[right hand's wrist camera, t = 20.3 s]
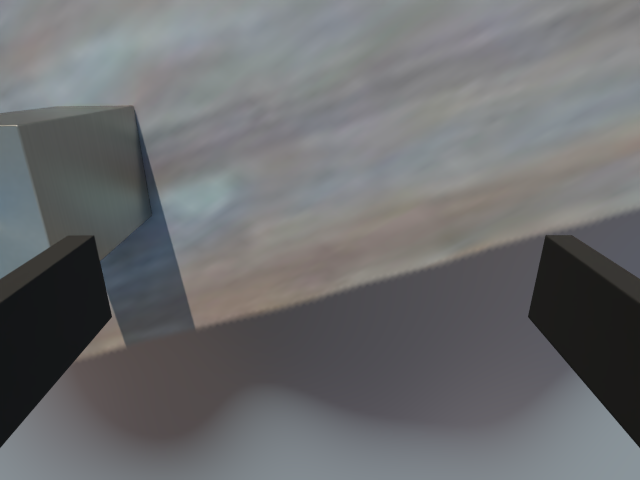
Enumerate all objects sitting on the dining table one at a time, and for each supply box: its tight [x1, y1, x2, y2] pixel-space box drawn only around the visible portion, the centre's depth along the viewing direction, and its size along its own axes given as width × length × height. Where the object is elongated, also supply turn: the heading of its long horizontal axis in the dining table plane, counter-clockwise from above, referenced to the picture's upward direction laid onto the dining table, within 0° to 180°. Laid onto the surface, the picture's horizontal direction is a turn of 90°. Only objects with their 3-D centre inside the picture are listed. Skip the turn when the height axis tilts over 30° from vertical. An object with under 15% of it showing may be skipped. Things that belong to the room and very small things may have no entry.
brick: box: [0, 106, 152, 279], centre depth 23 cm, size 8×5×12 cm
